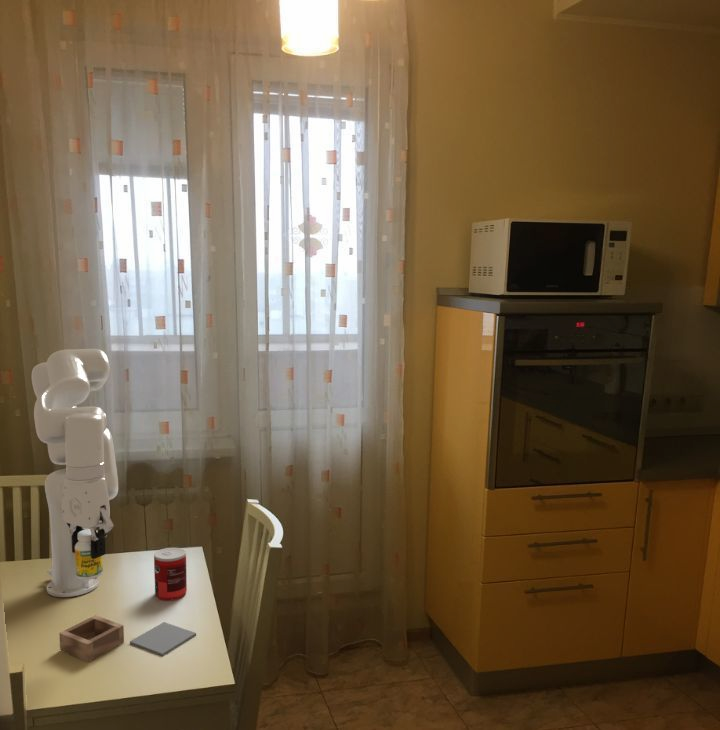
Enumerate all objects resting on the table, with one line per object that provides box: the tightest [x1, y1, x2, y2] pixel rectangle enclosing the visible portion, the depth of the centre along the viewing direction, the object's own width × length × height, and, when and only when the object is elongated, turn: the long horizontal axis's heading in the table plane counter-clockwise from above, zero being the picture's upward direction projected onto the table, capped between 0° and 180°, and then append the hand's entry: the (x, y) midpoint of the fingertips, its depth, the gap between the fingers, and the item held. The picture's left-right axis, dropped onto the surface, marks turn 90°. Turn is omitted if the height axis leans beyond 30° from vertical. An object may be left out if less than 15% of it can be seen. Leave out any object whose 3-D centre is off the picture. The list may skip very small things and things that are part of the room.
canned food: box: [153, 547, 188, 602], centre depth 168 cm, size 8×8×11 cm
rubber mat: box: [129, 621, 197, 657], centre depth 147 cm, size 10×10×1 cm
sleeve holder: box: [58, 614, 125, 663], centre depth 143 cm, size 9×9×4 cm
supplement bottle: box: [75, 529, 104, 580], centre depth 142 cm, size 5×5×10 cm
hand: (88, 552), depth 142 cm, fingers closed on supplement bottle, 5 cm apart
